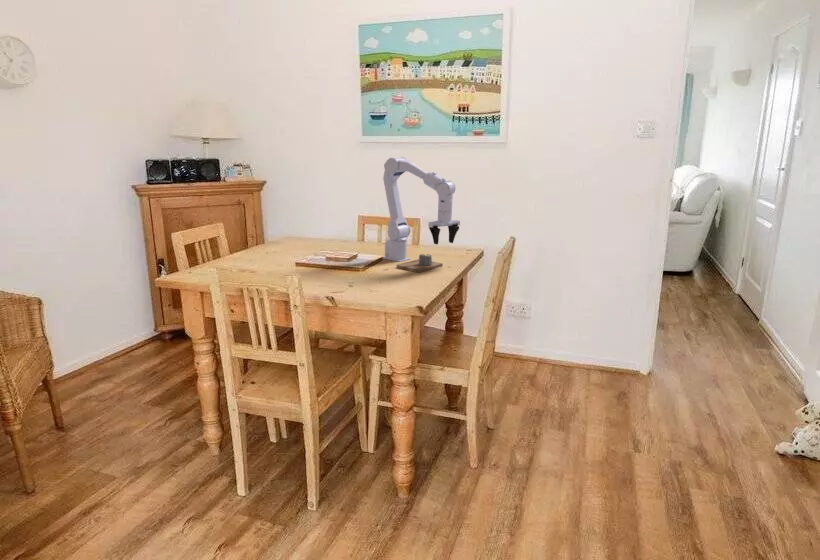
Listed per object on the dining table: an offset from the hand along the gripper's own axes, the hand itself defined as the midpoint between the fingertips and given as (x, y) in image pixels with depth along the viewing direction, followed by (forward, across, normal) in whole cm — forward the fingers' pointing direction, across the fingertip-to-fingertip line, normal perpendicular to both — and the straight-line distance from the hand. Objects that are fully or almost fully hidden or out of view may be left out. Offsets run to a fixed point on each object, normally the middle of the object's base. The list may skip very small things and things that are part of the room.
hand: (443, 243), depth 236 cm
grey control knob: (+9, -8, +1) cm, 12 cm away
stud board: (+10, -10, +3) cm, 14 cm away
